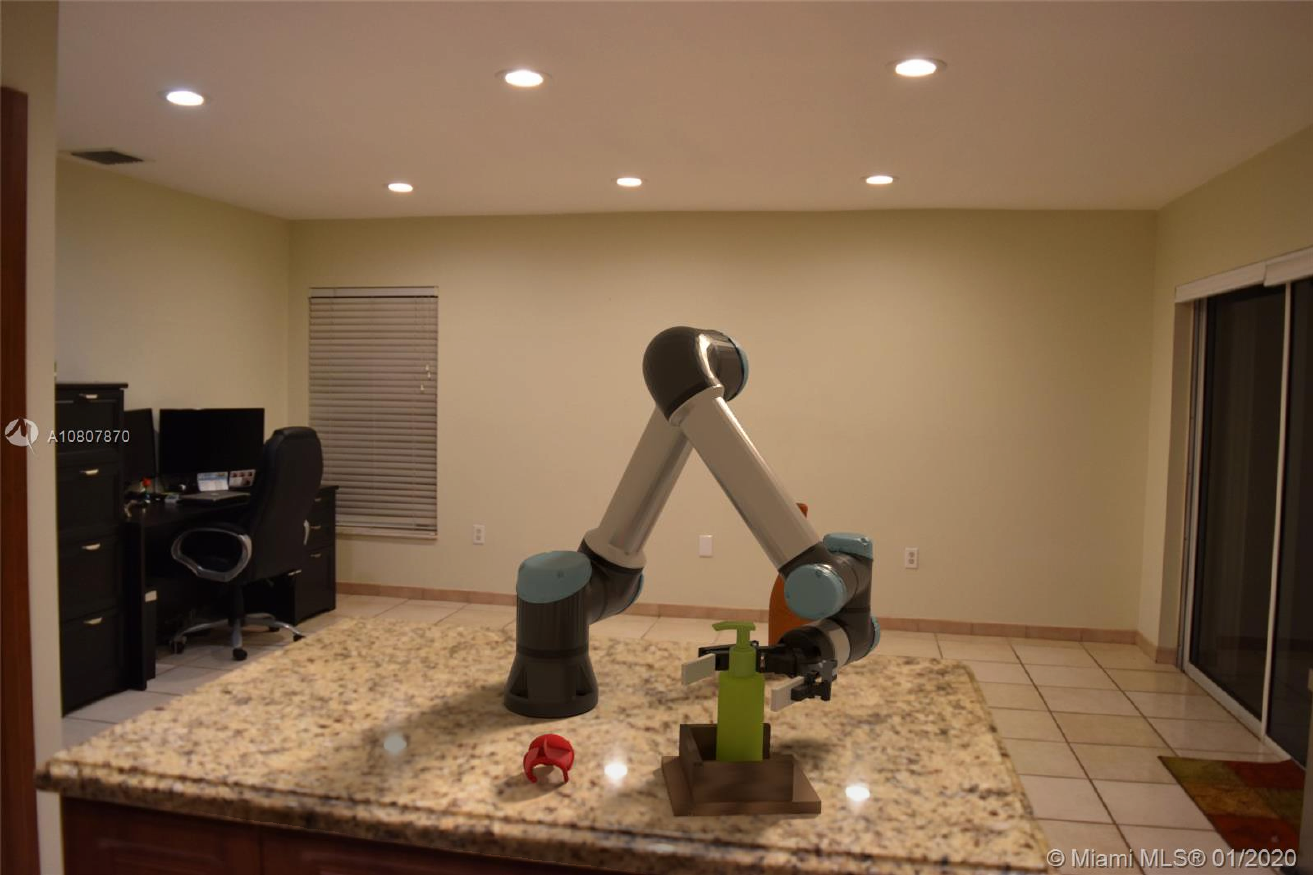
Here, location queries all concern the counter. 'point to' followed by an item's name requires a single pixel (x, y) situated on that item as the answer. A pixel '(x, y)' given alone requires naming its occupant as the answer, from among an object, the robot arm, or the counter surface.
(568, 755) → the cap
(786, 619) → the wine bottle
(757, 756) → the soap dispenser
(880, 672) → the counter surface
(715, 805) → the u rest
